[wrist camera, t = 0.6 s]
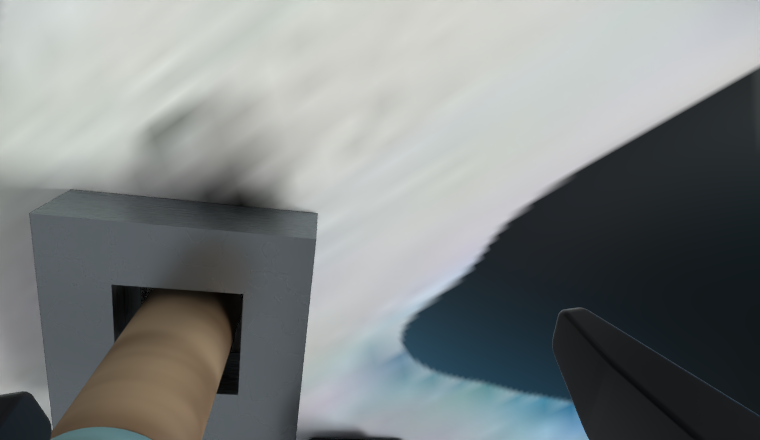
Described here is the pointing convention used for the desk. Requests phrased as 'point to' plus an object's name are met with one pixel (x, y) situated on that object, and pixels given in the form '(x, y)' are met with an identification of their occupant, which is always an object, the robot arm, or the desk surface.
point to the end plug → (158, 371)
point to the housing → (184, 272)
